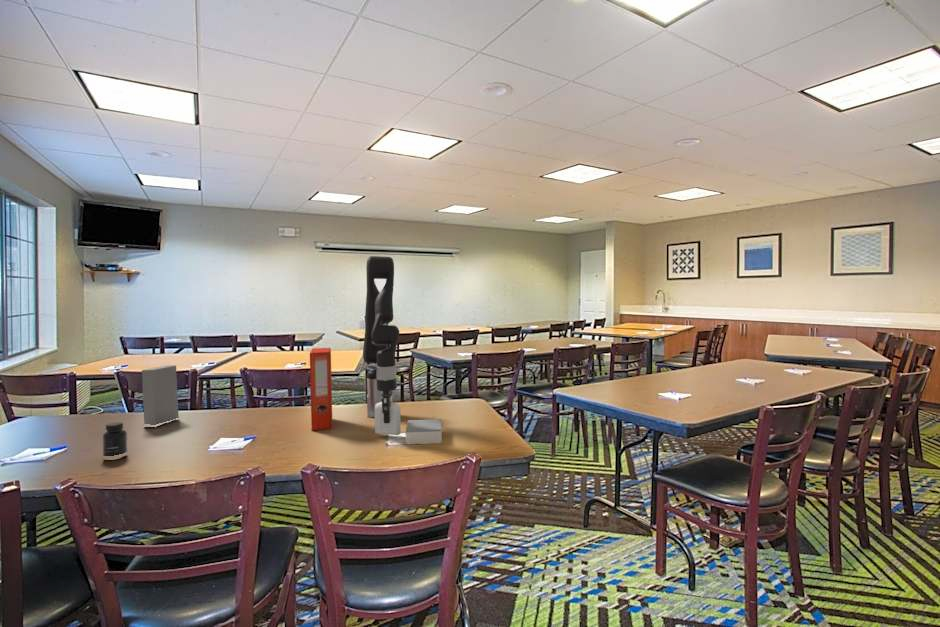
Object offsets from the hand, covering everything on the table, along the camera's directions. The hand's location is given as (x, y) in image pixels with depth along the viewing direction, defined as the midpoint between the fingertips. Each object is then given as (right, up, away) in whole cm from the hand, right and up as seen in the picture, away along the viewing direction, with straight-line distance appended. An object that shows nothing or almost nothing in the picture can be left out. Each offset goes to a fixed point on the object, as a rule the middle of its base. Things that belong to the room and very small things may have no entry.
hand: (387, 420), depth 186 cm
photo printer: (0, -5, 0) cm, 5 cm away
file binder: (-31, -6, +20) cm, 37 cm away
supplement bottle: (-92, -9, -18) cm, 94 cm away
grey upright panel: (-105, -8, +27) cm, 108 cm away
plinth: (+14, -6, -2) cm, 16 cm away
